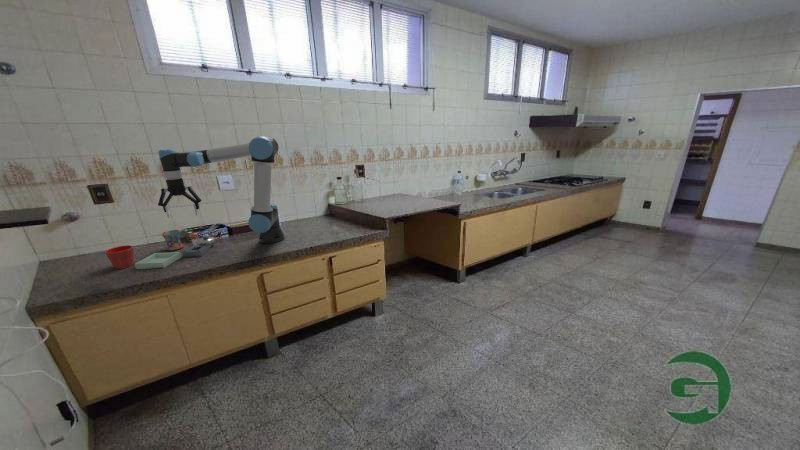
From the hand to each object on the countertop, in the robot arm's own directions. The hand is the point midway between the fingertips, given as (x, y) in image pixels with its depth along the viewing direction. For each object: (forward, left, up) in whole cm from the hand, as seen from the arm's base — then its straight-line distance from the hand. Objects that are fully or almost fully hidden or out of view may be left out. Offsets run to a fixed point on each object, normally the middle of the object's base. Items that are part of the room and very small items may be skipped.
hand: (183, 216), depth 168 cm
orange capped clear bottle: (-4, +2, -22) cm, 22 cm away
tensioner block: (-4, -3, -22) cm, 23 cm away
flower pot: (+26, +16, -22) cm, 38 cm away
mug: (+15, -8, -22) cm, 28 cm away
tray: (+9, +14, -22) cm, 28 cm away
